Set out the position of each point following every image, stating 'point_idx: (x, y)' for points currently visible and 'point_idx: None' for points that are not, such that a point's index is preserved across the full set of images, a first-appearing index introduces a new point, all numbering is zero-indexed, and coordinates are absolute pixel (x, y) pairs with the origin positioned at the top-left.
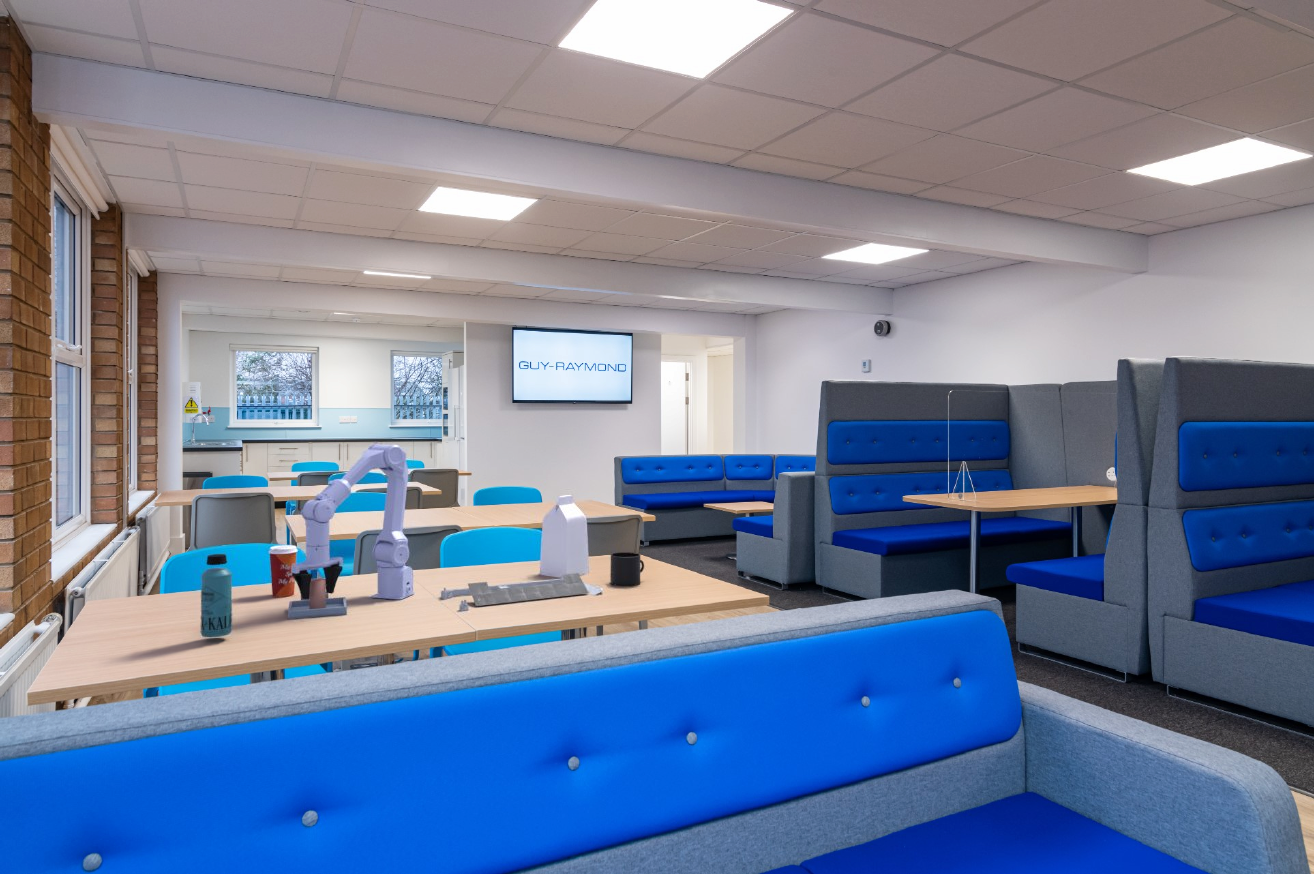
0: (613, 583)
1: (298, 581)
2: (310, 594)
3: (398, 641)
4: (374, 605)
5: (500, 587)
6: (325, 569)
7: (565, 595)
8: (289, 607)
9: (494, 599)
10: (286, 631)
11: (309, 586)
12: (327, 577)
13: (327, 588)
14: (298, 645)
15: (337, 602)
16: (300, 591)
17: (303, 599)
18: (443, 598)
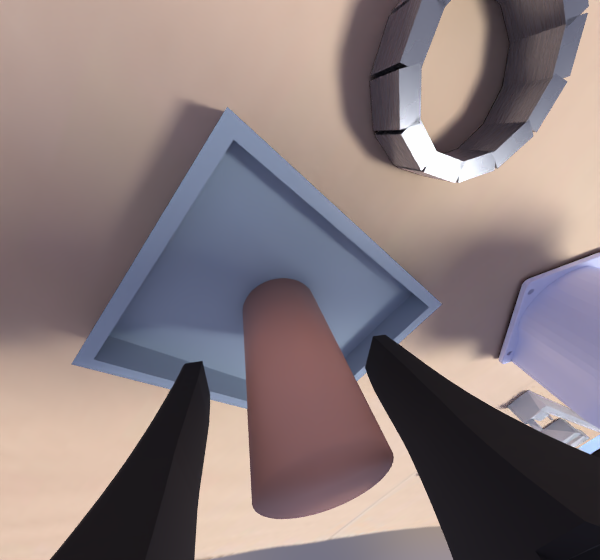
0: (594, 455)
1: (98, 543)
2: (246, 380)
3: (214, 556)
4: (426, 361)
5: (563, 441)
6: (529, 517)
7: None
8: (123, 290)
9: None
10: (17, 460)
11: (194, 506)
12: (444, 434)
13: (385, 364)
14: (9, 552)
15: (402, 284)
16: (162, 410)
17: (386, 66)
18: (511, 406)
